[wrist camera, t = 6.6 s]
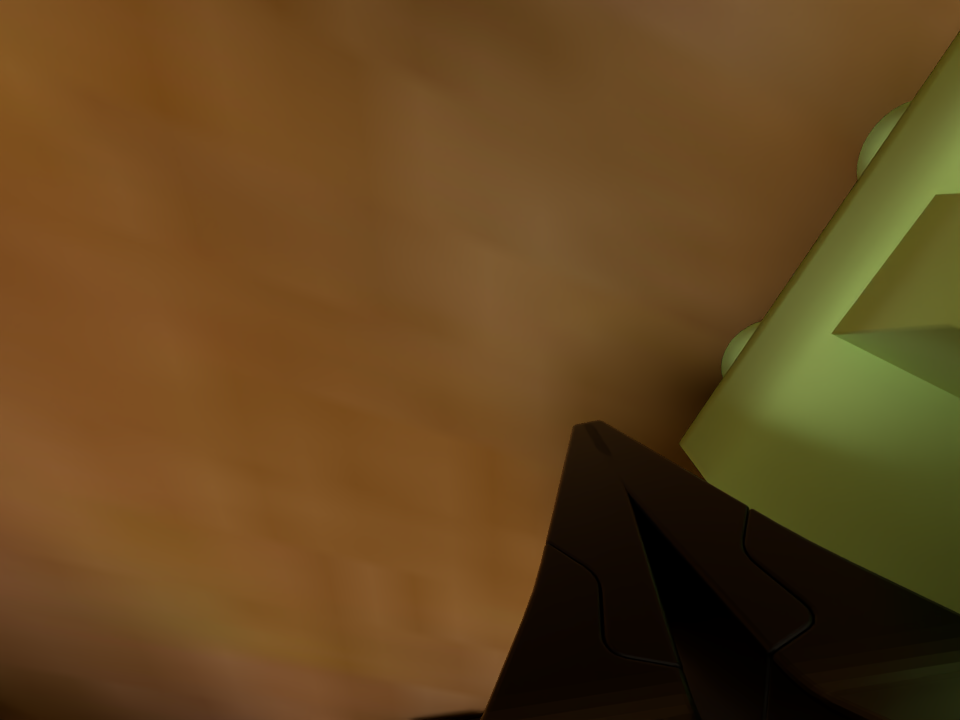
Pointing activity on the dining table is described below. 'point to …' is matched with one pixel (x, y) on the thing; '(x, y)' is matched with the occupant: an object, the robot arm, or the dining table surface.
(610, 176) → the dining table surface
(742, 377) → the kettle
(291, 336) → the dining table surface
